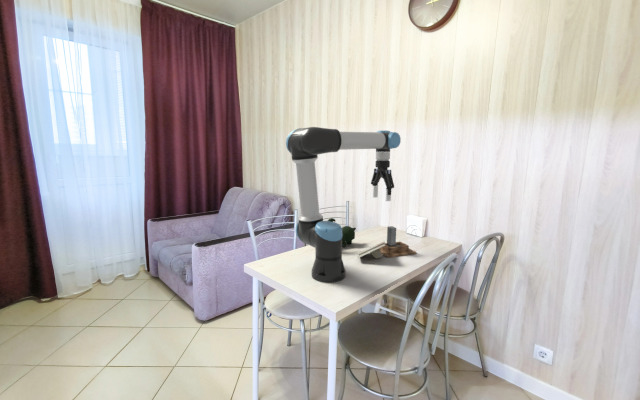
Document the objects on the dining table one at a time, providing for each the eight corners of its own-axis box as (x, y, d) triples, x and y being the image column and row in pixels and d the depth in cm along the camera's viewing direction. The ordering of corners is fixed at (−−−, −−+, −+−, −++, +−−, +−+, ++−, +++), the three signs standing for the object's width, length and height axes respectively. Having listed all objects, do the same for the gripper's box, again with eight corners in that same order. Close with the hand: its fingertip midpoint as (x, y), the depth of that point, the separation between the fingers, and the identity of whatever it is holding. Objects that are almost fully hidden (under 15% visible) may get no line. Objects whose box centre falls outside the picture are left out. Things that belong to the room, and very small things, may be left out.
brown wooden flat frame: (387, 257, 155) (387, 250, 154) (374, 249, 168) (374, 242, 167) (416, 253, 161) (416, 246, 160) (401, 246, 174) (401, 239, 173)
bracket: (390, 251, 161) (391, 228, 159) (386, 249, 165) (387, 226, 163) (403, 250, 164) (404, 227, 162) (399, 248, 167) (400, 225, 165)
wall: (368, 272, 146) (392, 253, 144) (356, 258, 147) (380, 239, 145) (368, 265, 162) (390, 248, 160) (358, 252, 163) (380, 235, 161)
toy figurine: (331, 255, 163) (362, 242, 179) (329, 222, 159) (361, 212, 175) (320, 251, 170) (350, 239, 186) (318, 219, 166) (349, 209, 182)
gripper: (402, 160, 150) (400, 202, 153) (377, 159, 173) (375, 195, 176) (389, 160, 147) (387, 203, 151) (365, 159, 171) (364, 196, 174)
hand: (381, 199), depth 164 cm, fingers open, 13 cm apart
